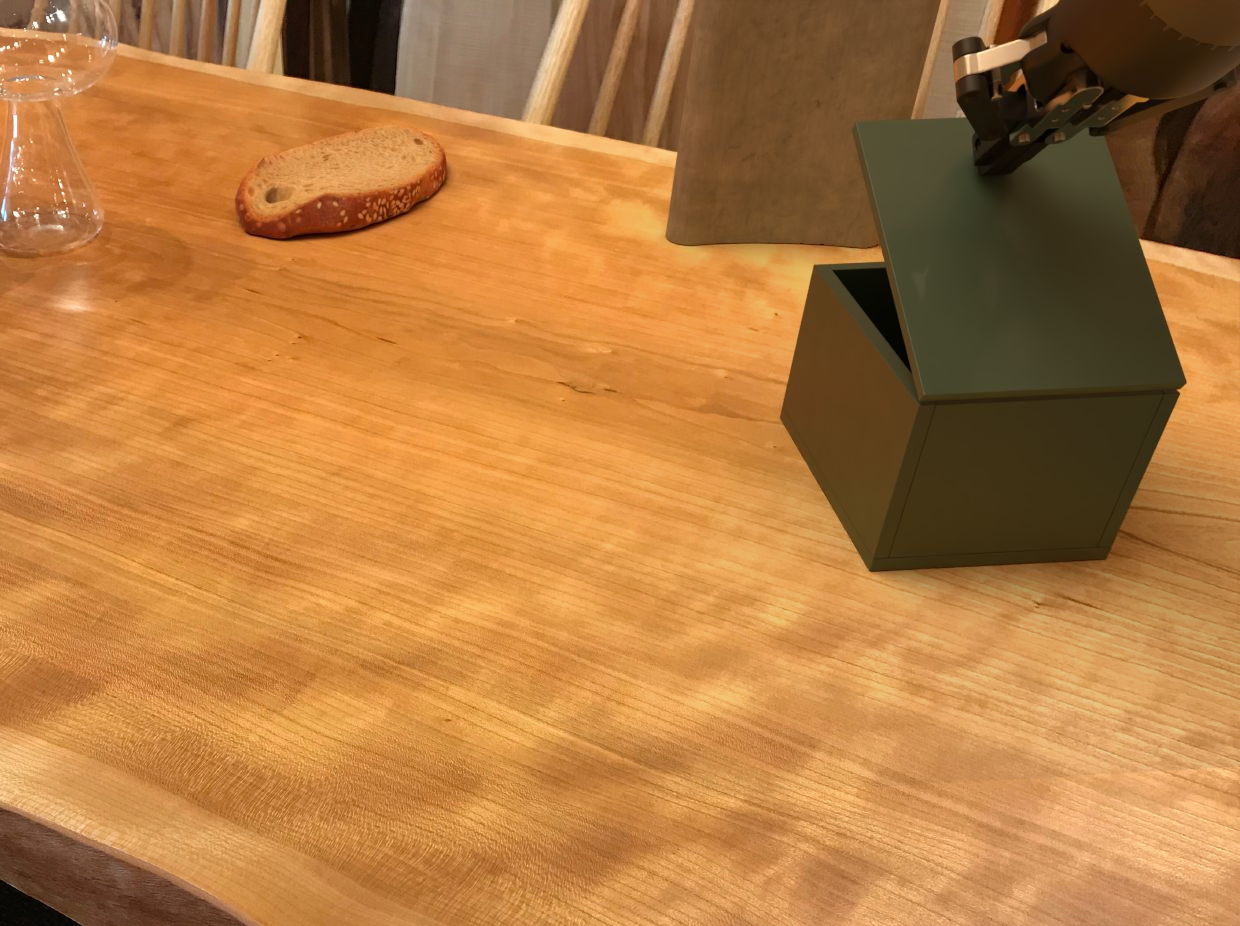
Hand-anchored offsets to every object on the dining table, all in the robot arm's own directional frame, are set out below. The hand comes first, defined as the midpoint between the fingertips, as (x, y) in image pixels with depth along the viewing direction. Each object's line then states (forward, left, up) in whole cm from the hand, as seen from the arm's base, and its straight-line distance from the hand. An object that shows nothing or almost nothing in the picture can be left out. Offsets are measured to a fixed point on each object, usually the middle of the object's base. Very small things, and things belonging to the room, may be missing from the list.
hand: (991, 156), depth 66 cm
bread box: (0, +4, -17) cm, 17 cm away
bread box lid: (0, +4, -3) cm, 5 cm away
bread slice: (+31, -42, -17) cm, 55 cm away
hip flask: (-1, -30, -17) cm, 35 cm away
